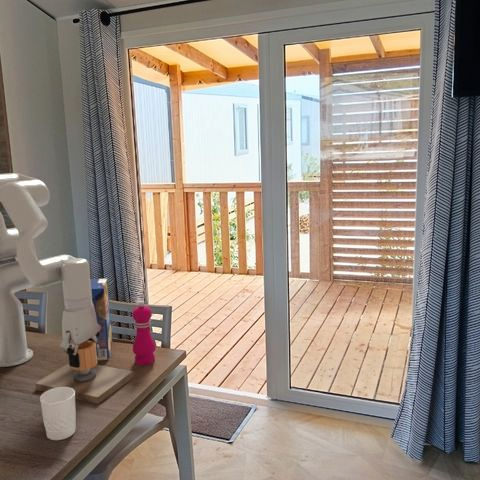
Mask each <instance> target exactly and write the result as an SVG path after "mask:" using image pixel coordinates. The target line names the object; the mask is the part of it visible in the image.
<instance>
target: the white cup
mask: <svg viewBox="0 0 480 480" xmlns="http://www.w3.org/2000/svg"><path fill="white" fill-rule="evenodd" d="M39 403H40V406H41V407H40V408H41V414H42V421H43V425H44V428H45V434H46V438H47V439H49V440H51V441H60V440H65V439H68V438H71V436H73V435H74V434H75V432H76V429H77V426H76V425H77V423H76V420H77V419H76V418H77V416H76V414H77V413H76V407H77V406H76V399H75V391H74V389H72V388H70V387H57V388H53V389H50V390H48V391H46V392H44V391H43V392H42V394H41V395H40V396H39Z"/></svg>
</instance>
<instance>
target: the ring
mask: <svg viewBox="0 0 480 480" xmlns="http://www.w3.org/2000/svg"><path fill="white" fill-rule="evenodd" d="M72 349H74V345H72ZM77 354H79V362H80V367H78V368H76V367H72V368H73V369H74V370H87V369H91V368H93V367H94V366H96V365H98V360H97V353H96V343H95V342H94V341H89V340H87V341H84V342H83V343H81V344H79V346H78V351H77Z"/></svg>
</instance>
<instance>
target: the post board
mask: <svg viewBox="0 0 480 480" xmlns="http://www.w3.org/2000/svg"><path fill="white" fill-rule="evenodd" d="M133 378H134V373H133V371H132V370H127V369H122V368H121V369H120V368H118V367H117V368H116V367H112V366H106V365H101V364H97V365H96V366H94V367H93V368H91V369H87V370H74V369H73V368H72V367H71V366H70V365H69V362H68V363H67V364H65V365H63V366H61V367H60V368H58V369H57V370H55V371H53V372H51V373H50V374H48V375H47V376H45V377H43V378H41V379H39V380H38V381H36V382H35V384H34V385H35V390H37V391H40V392H43V393H44V392H46V391H48V390H50V389H53V388H57V387H70V388H72V389H74V391H75V400H80V401H85V402H88V403H94V404H97V405H99V404H101V403H102V401H105V399H107V398H108V397H109V396H111V395H112V394H113V393H115V392H116V391H118V390H119V389H120V388H121V387H122V386H124V385H125V384H126V383H128V382H129V381H130V380H132V379H133Z"/></svg>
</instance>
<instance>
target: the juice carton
mask: <svg viewBox="0 0 480 480" xmlns="http://www.w3.org/2000/svg"><path fill="white" fill-rule="evenodd" d="M90 280H91V292H92V303H93V305H94V309H95V313H96V319H97V323H98V324H99V325H101V329H100V332H99V336H98V338H97V339H98V342H97V354H98V355H97V361H104V360H110V357H111V352H112V349H113V335H112V322H111V309H110V295H109V282H108V280H109V279H108V278H107V277H105V278H95V279H93V278H92V279H91V278H90ZM86 341H87V340H86Z"/></svg>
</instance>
